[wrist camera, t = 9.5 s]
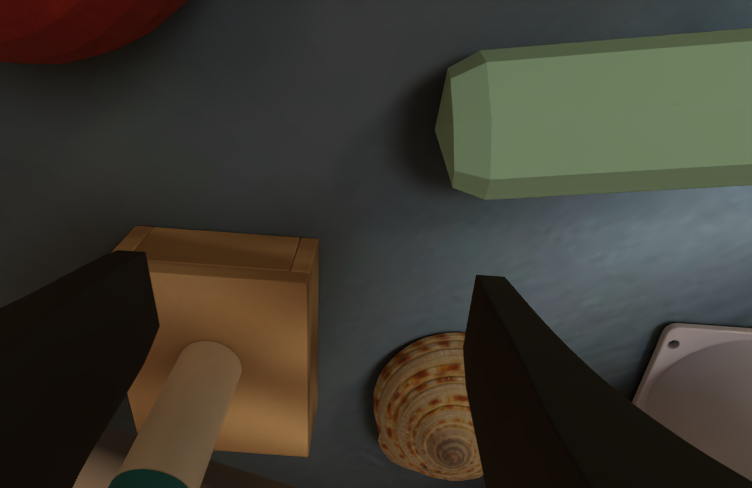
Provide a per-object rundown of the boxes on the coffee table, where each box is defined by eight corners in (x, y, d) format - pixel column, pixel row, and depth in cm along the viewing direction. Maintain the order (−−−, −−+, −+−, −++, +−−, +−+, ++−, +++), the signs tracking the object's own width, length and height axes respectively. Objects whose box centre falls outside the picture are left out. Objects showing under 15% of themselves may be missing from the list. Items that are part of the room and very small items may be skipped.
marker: (245, 389, 23) (177, 587, 16) (183, 384, 23) (88, 581, 16) (241, 341, 21) (164, 535, 14) (174, 336, 21) (66, 528, 14)
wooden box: (318, 401, 28) (308, 457, 25) (168, 390, 28) (139, 445, 25) (319, 238, 23) (306, 283, 20) (135, 224, 23) (94, 268, 20)
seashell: (370, 491, 28) (368, 449, 21) (375, 389, 31) (375, 326, 25) (525, 499, 28) (570, 459, 21) (513, 395, 31) (549, 333, 25)
